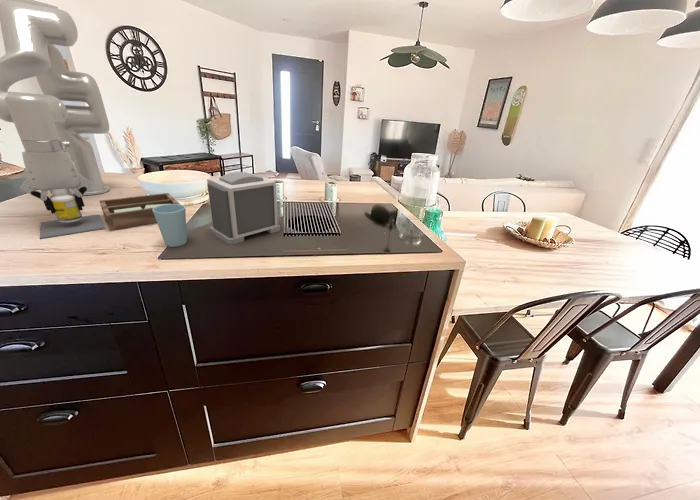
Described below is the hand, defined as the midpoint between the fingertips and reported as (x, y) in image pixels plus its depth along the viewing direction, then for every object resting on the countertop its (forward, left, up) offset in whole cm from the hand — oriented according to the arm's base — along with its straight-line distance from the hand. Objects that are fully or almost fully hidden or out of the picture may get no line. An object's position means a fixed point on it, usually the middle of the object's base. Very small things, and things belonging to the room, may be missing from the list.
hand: (67, 210), depth 86 cm
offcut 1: (+6, +14, -5) cm, 16 cm away
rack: (+2, +18, -5) cm, 19 cm away
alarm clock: (+30, +41, -5) cm, 51 cm away
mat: (0, 0, -5) cm, 5 cm away
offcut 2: (+6, +22, -5) cm, 23 cm away
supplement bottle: (0, 0, -3) cm, 3 cm away
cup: (+28, +21, -5) cm, 35 cm away
